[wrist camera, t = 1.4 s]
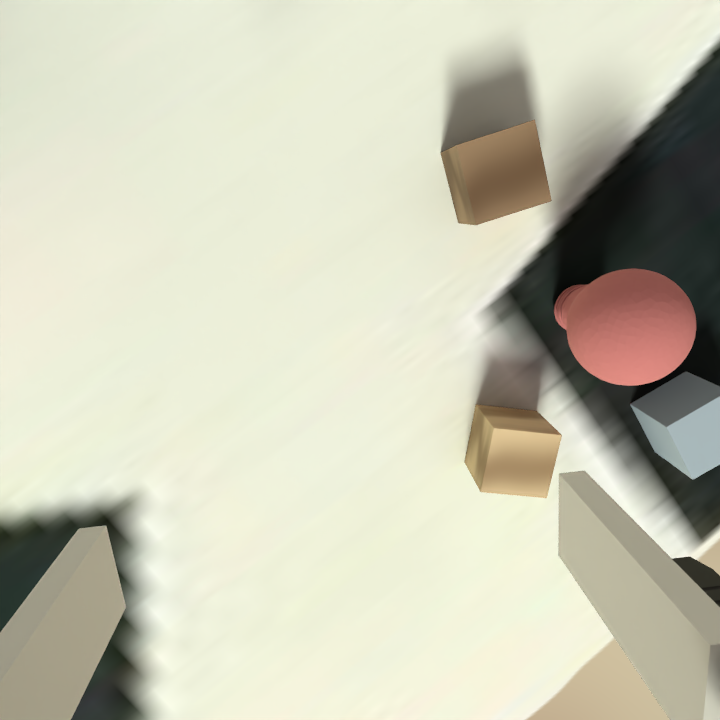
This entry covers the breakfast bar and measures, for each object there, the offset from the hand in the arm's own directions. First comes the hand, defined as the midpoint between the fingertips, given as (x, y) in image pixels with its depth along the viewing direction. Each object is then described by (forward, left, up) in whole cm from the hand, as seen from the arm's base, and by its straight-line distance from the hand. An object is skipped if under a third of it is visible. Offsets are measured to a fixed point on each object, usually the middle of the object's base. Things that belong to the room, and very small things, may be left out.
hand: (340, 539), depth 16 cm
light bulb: (0, +18, -27) cm, 33 cm away
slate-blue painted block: (+10, +26, -27) cm, 39 cm away
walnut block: (-10, +12, -27) cm, 31 cm away
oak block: (+10, +12, -27) cm, 31 cm away
